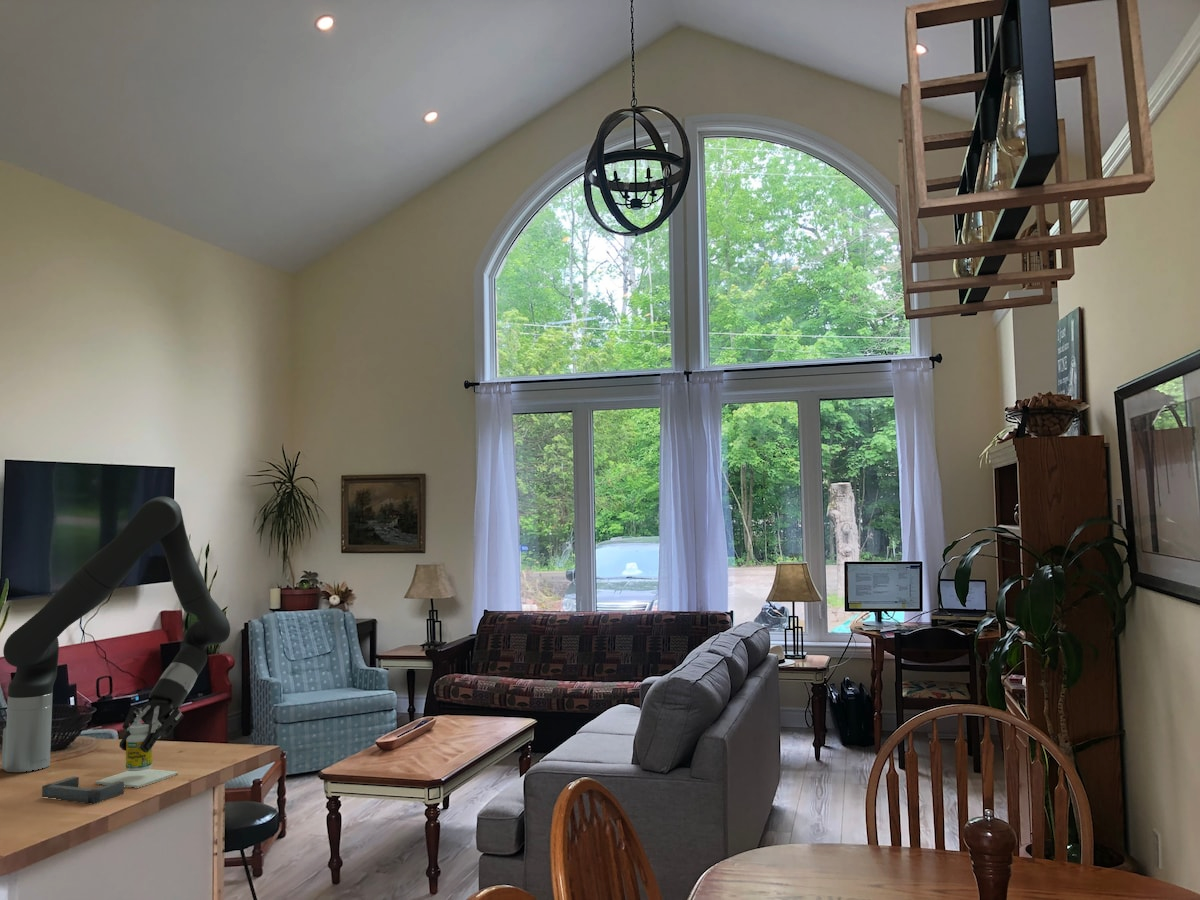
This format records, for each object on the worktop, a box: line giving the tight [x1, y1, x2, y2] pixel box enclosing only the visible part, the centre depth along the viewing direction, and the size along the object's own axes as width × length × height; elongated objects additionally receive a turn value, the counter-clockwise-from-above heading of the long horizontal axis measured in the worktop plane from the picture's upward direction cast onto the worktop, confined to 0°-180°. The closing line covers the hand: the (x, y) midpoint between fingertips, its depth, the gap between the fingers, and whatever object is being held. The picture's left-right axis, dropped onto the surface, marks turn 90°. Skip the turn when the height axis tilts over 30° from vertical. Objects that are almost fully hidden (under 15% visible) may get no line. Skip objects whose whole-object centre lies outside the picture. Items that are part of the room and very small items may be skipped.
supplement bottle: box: [125, 723, 153, 771], centre depth 212 cm, size 5×5×10 cm
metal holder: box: [41, 776, 125, 805], centre depth 199 cm, size 14×8×2 cm, turn 72°
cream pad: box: [94, 768, 180, 789], centre depth 211 cm, size 12×12×1 cm
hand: (133, 749), depth 210 cm, fingers closed on supplement bottle, 5 cm apart
